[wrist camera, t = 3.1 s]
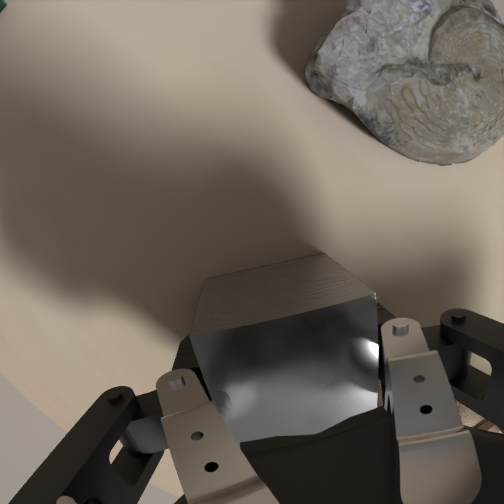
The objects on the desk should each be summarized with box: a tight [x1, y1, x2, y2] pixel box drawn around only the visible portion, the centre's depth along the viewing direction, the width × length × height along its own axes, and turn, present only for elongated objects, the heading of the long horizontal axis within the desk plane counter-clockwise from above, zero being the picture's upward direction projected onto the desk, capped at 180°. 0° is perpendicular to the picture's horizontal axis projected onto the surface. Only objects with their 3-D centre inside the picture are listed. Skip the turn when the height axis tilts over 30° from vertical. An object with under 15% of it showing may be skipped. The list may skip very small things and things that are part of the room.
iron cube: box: [189, 253, 378, 448], centre depth 10 cm, size 5×5×5 cm
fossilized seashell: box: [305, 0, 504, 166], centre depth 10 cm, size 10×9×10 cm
